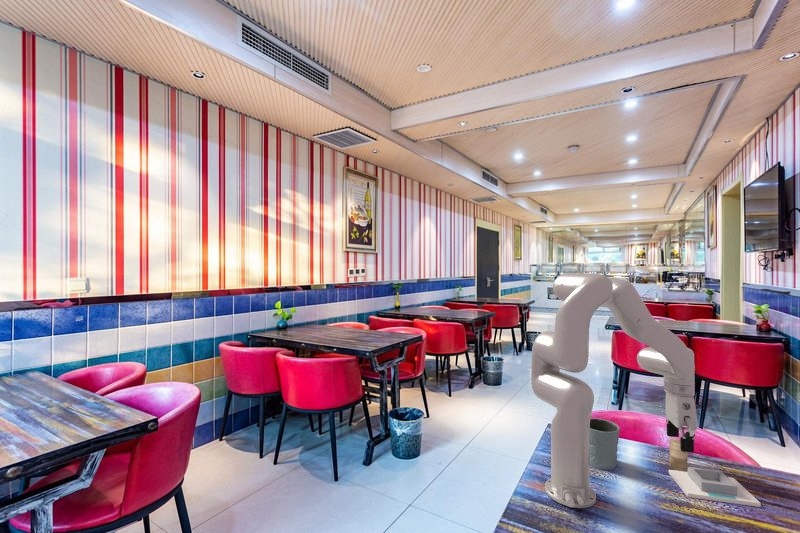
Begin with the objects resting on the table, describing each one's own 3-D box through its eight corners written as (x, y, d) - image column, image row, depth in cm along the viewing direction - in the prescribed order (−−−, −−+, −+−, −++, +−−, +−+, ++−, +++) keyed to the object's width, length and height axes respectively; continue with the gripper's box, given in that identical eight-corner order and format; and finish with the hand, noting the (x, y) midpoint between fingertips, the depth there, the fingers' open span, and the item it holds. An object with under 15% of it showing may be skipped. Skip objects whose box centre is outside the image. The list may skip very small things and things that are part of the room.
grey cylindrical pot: (612, 456, 122) (612, 419, 122) (625, 473, 112) (625, 432, 112) (578, 453, 124) (578, 416, 124) (588, 470, 114) (588, 430, 114)
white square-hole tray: (760, 507, 96) (760, 493, 96) (687, 496, 100) (687, 483, 100) (733, 481, 108) (733, 468, 108) (668, 472, 112) (668, 461, 112)
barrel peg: (690, 472, 112) (690, 446, 112) (673, 470, 113) (673, 444, 113) (683, 465, 116) (683, 439, 116) (667, 463, 117) (667, 437, 117)
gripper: (708, 398, 105) (709, 459, 106) (680, 379, 122) (681, 432, 122) (677, 396, 107) (678, 456, 108) (654, 378, 124) (654, 430, 124)
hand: (679, 443), depth 115 cm, fingers open, 9 cm apart
